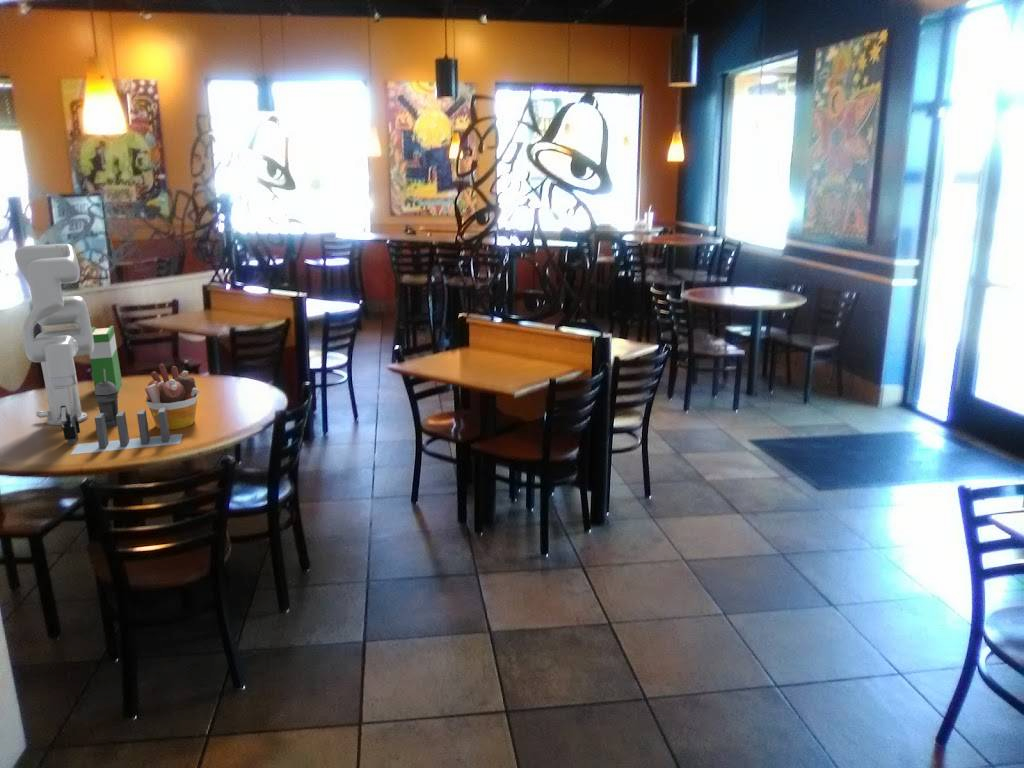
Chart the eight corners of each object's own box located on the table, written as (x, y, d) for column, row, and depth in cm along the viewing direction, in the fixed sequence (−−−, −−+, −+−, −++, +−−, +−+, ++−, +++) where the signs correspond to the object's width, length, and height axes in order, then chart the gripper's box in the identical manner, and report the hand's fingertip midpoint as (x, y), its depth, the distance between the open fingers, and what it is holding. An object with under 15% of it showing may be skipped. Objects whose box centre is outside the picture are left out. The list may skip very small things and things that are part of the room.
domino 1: (68, 445, 256) (63, 415, 253) (72, 440, 260) (67, 410, 258) (75, 445, 256) (70, 414, 254) (78, 440, 261) (73, 410, 258)
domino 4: (141, 444, 255) (137, 414, 252) (143, 439, 259) (139, 409, 257) (147, 444, 255) (143, 413, 252) (149, 439, 260) (145, 409, 257)
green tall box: (101, 386, 327) (92, 327, 321) (122, 384, 329) (113, 325, 323) (96, 397, 311) (86, 335, 305) (117, 395, 313) (108, 333, 307)
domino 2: (99, 449, 251) (94, 418, 249) (102, 444, 256) (97, 413, 253) (105, 448, 252) (100, 417, 249) (108, 443, 257) (104, 412, 254)
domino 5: (162, 442, 256) (157, 412, 254) (164, 437, 261) (159, 407, 258) (168, 442, 257) (164, 411, 254) (170, 437, 261) (166, 407, 259)
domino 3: (120, 447, 253) (115, 416, 250) (123, 441, 258) (118, 411, 255) (126, 446, 254) (122, 415, 251) (129, 441, 258) (124, 411, 256)
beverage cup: (116, 421, 281) (108, 364, 276) (127, 425, 276) (118, 367, 271) (95, 426, 276) (86, 369, 270) (105, 430, 271) (96, 372, 266)
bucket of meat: (208, 428, 271) (201, 370, 266) (155, 438, 262) (147, 378, 257) (193, 414, 287) (186, 359, 282) (143, 422, 279) (135, 366, 273)
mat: (70, 456, 247) (70, 454, 247) (77, 445, 257) (77, 444, 256) (179, 445, 255) (179, 443, 255) (183, 435, 265) (182, 433, 265)
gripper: (56, 374, 260) (65, 428, 265) (42, 389, 244) (52, 446, 249) (82, 372, 262) (91, 426, 267) (70, 386, 246) (79, 443, 251)
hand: (72, 435), depth 258 cm, fingers closed on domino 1, 4 cm apart
